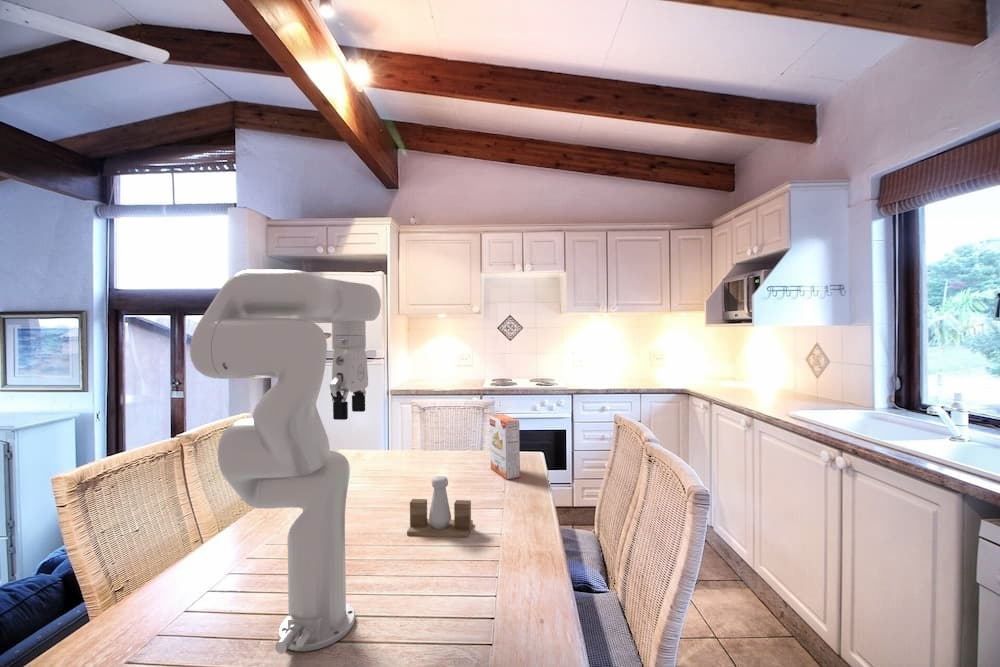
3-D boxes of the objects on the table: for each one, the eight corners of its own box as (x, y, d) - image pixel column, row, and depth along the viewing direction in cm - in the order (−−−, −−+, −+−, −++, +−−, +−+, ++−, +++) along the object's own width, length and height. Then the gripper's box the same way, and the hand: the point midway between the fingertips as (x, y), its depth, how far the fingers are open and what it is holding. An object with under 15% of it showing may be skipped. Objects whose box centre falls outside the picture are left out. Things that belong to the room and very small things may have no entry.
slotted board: (467, 537, 113) (467, 508, 113) (406, 535, 114) (406, 506, 114) (472, 523, 121) (472, 496, 121) (415, 521, 122) (415, 494, 122)
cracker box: (489, 469, 168) (489, 414, 168) (503, 467, 171) (503, 413, 171) (505, 480, 155) (504, 421, 155) (520, 478, 158) (520, 419, 158)
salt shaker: (447, 532, 114) (446, 481, 114) (426, 530, 115) (425, 480, 115) (453, 522, 120) (453, 474, 119) (433, 520, 121) (433, 473, 121)
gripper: (348, 344, 95) (349, 423, 95) (378, 341, 112) (378, 408, 112) (315, 344, 96) (316, 422, 96) (349, 342, 113) (350, 408, 113)
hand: (350, 415), depth 104 cm, fingers open, 9 cm apart
